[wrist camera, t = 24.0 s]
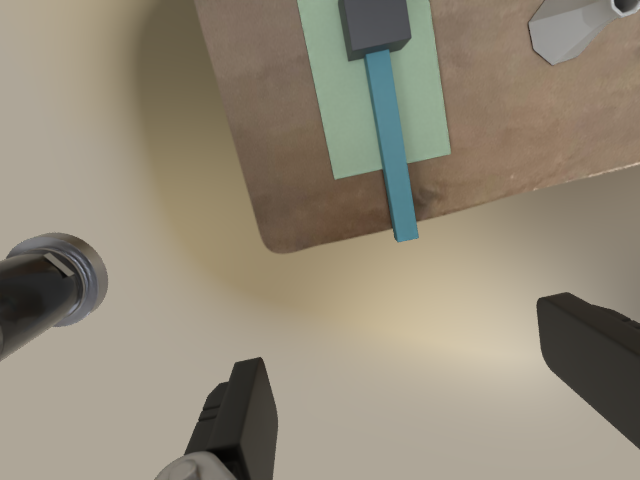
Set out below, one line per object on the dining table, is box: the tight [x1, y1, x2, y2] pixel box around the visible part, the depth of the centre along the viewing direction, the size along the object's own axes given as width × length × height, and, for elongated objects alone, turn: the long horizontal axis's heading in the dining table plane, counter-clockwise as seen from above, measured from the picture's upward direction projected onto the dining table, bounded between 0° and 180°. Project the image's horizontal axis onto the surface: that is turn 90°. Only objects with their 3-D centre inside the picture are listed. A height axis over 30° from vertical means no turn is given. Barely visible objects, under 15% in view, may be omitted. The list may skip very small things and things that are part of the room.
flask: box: [529, 0, 640, 65], centre depth 40 cm, size 7×7×10 cm
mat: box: [297, 0, 451, 179], centre depth 45 cm, size 22×14×1 cm, turn 12°
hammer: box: [338, 0, 419, 242], centre depth 44 cm, size 28×6×5 cm, turn 12°
